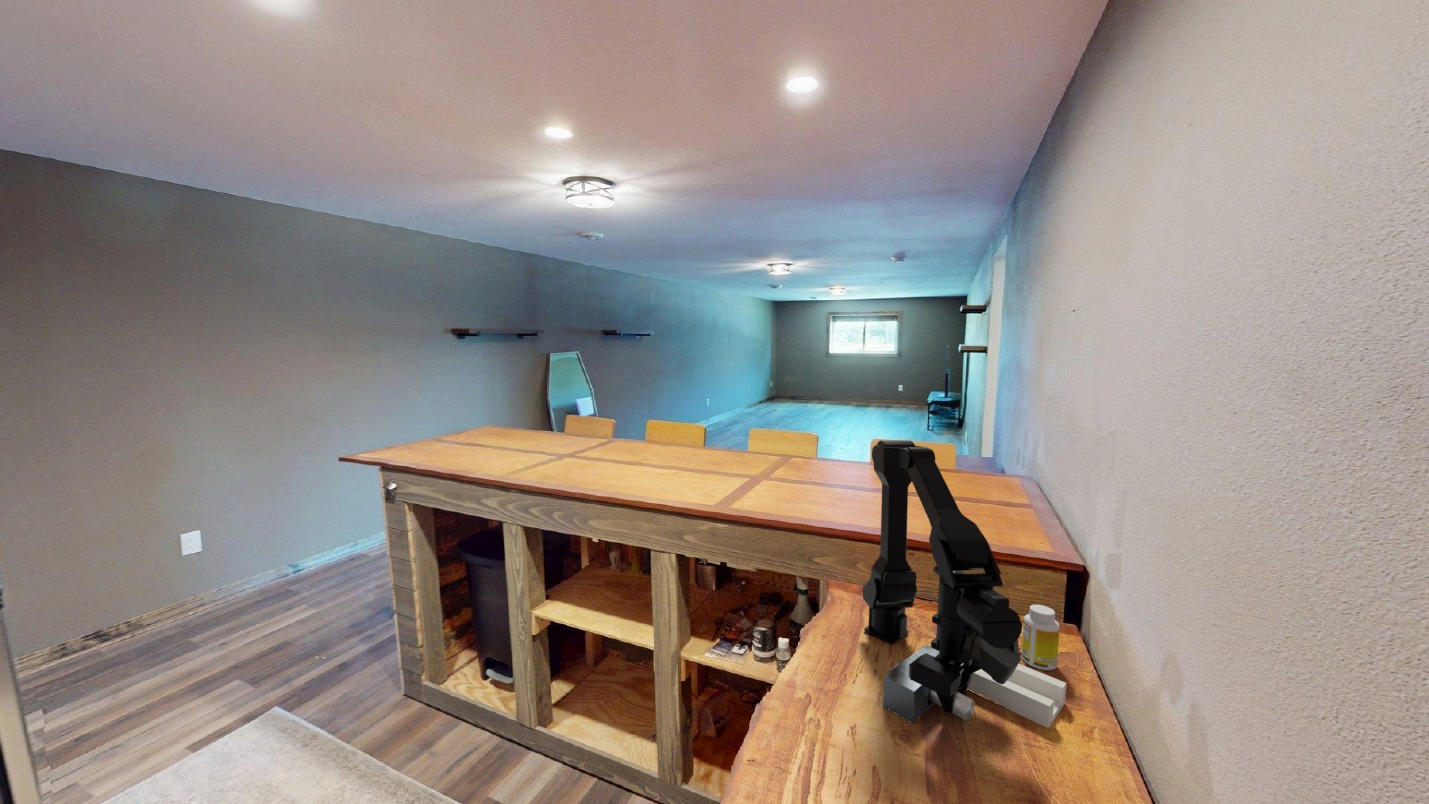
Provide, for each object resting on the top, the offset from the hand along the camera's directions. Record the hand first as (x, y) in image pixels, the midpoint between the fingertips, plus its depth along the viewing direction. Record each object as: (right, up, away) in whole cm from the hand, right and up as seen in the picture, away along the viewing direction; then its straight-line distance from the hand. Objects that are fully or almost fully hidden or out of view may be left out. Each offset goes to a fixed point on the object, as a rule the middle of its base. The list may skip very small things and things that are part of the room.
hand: (953, 707), depth 80 cm
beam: (-4, -1, +4) cm, 6 cm away
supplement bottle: (+22, 0, +14) cm, 26 cm away
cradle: (+12, -1, +5) cm, 13 cm away
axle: (-2, +1, +2) cm, 4 cm away
